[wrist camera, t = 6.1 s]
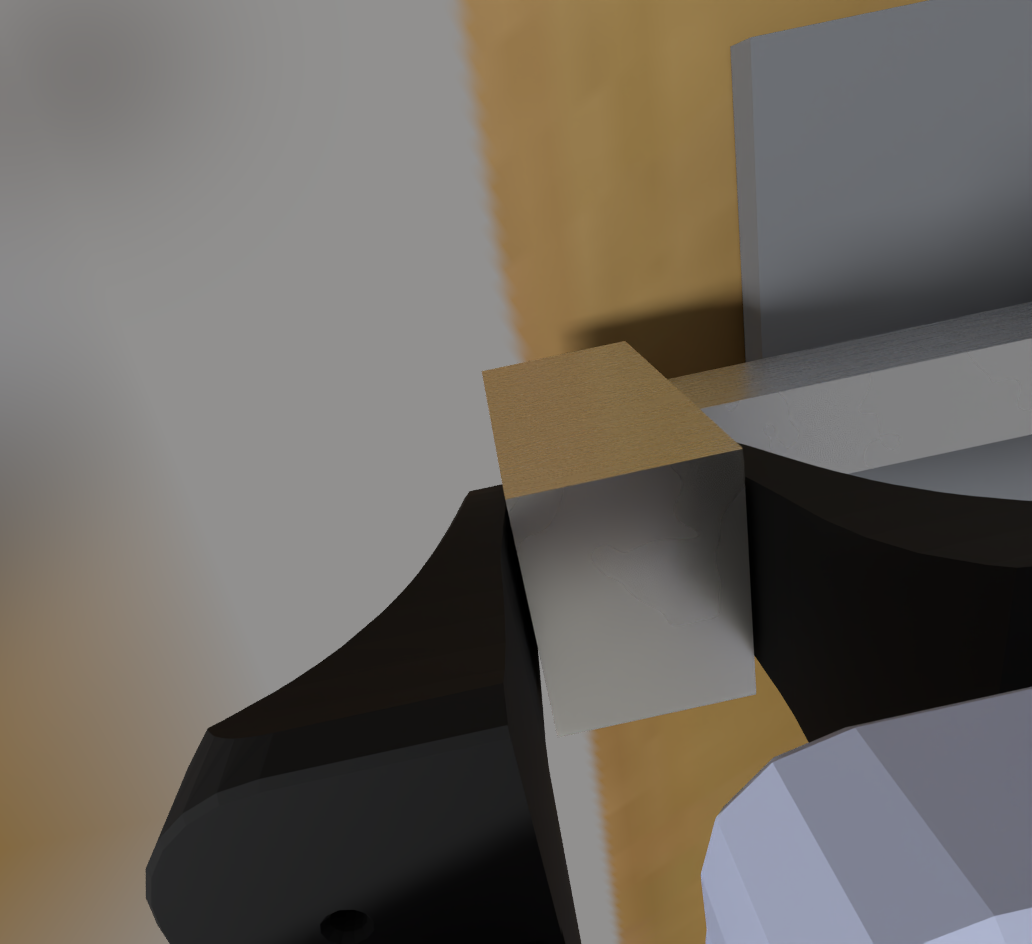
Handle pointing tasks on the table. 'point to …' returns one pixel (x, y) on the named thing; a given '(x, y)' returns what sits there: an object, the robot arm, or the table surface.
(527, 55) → the table surface
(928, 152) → the bracket
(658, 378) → the shaft
